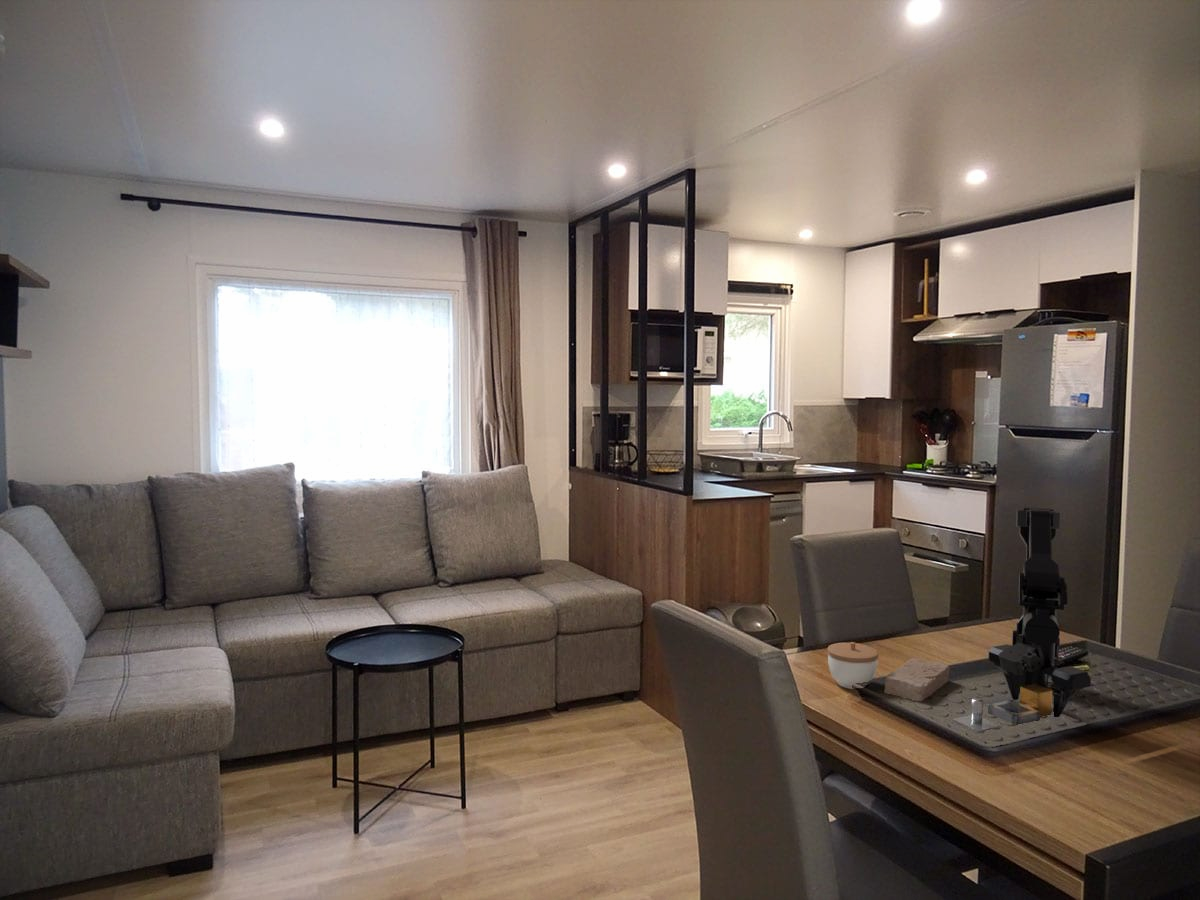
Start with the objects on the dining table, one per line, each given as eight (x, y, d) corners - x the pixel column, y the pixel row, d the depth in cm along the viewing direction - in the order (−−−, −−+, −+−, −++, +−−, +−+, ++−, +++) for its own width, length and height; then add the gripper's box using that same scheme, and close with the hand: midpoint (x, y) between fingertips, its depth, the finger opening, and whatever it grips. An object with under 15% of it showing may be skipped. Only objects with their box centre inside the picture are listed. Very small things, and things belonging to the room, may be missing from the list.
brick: (922, 707, 164) (922, 684, 164) (882, 696, 170) (882, 675, 169) (949, 685, 176) (950, 664, 176) (911, 676, 182) (912, 656, 182)
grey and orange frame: (1037, 703, 164) (1038, 680, 163) (1066, 715, 158) (1067, 690, 157) (988, 714, 158) (989, 689, 158) (1016, 726, 152) (1017, 701, 152)
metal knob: (974, 717, 157) (975, 692, 156) (1000, 729, 151) (1001, 703, 151) (952, 722, 154) (952, 696, 154) (977, 735, 149) (978, 708, 148)
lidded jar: (819, 676, 181) (820, 635, 180) (865, 674, 182) (866, 634, 181) (837, 694, 170) (838, 651, 170) (885, 692, 171) (887, 650, 171)
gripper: (970, 623, 163) (967, 697, 164) (1053, 650, 146) (1049, 733, 147) (1009, 617, 167) (1006, 689, 169) (1094, 643, 150) (1090, 723, 152)
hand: (1035, 708), depth 159 cm, fingers open, 9 cm apart
